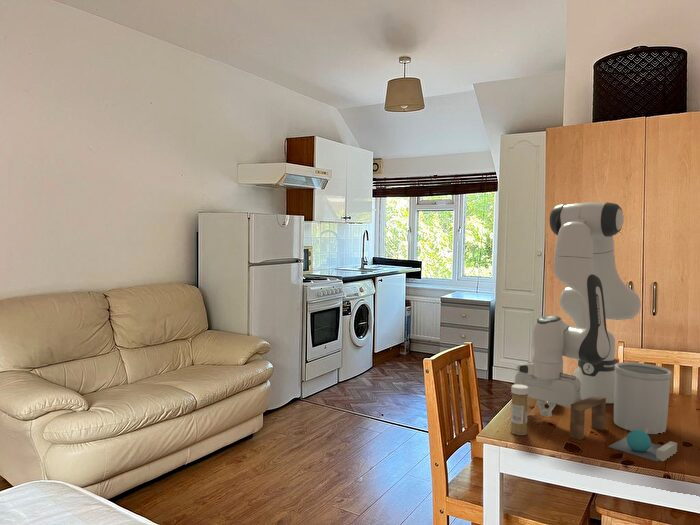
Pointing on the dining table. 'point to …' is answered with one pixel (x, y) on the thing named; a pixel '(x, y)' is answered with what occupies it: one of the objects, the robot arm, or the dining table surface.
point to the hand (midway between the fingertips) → (545, 415)
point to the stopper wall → (666, 451)
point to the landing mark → (647, 454)
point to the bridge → (579, 415)
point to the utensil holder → (641, 397)
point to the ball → (638, 440)
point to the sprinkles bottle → (519, 409)
